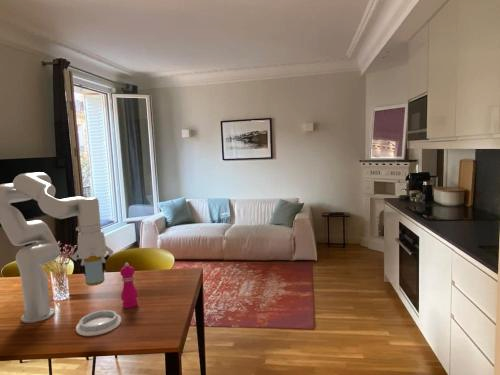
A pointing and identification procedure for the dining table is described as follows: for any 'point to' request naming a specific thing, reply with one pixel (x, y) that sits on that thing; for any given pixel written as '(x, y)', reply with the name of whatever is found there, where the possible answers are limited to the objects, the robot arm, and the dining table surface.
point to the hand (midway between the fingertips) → (94, 272)
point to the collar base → (98, 323)
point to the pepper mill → (128, 287)
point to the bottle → (93, 269)
